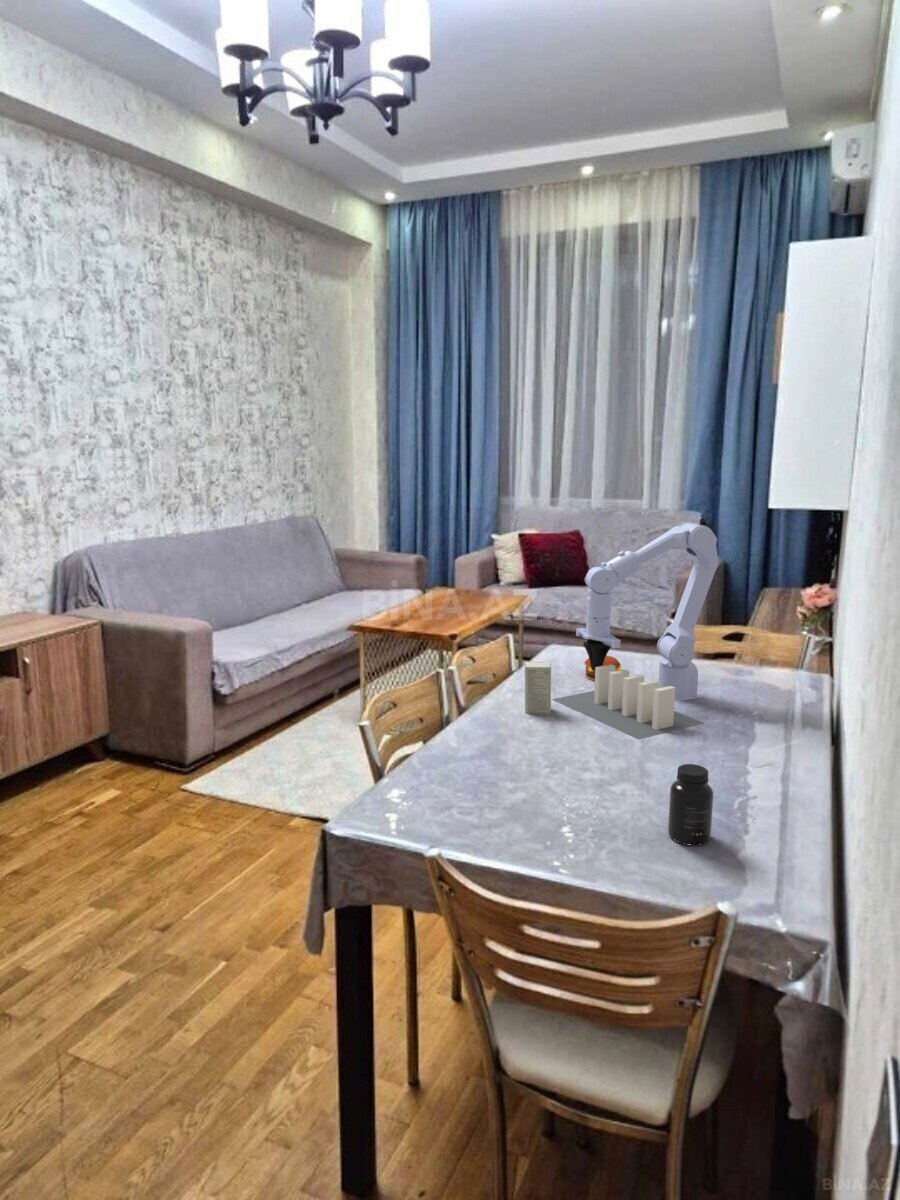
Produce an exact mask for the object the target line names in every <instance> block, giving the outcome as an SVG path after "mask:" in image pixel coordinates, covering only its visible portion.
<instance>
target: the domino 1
mask: <svg viewBox="0 0 900 1200" xmlns="http://www.w3.org/2000/svg"><path fill="white" fill-rule="evenodd" d="M614 671H615V666H614V665H612V664H611V665H605V666H600V667H595V681H594V691H595V693H594V703H596V704H602V703H607V702H608V689H609V672H614Z"/></svg>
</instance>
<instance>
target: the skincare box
mask: <svg viewBox="0 0 900 1200" xmlns="http://www.w3.org/2000/svg"><path fill="white" fill-rule="evenodd" d="M551 711H552V663H551V661H525V662H524V714H536V715H537V714H539V715H540V714H541V715H551V714H552V713H551Z"/></svg>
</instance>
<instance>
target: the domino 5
mask: <svg viewBox="0 0 900 1200" xmlns="http://www.w3.org/2000/svg"><path fill="white" fill-rule="evenodd" d="M675 703H676V702H675V687H672V686H667V687H663V688H658V689H654V698H653V717H652V728H654V729H656V730H658V729H662V728H666V727H670V726H673V720H674V711H675Z"/></svg>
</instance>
